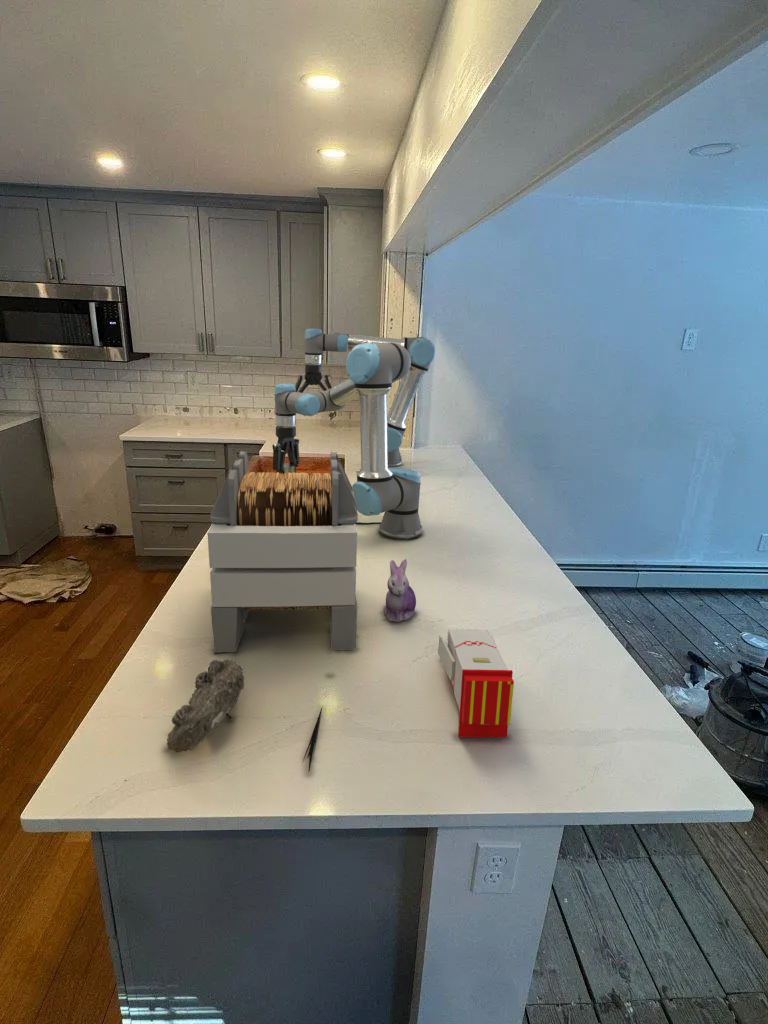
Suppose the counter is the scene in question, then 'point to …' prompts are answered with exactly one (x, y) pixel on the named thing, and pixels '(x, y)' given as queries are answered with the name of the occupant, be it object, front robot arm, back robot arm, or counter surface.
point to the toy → (478, 682)
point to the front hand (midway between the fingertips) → (286, 484)
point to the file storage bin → (283, 549)
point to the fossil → (206, 705)
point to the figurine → (399, 594)
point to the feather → (313, 740)
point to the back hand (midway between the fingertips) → (313, 410)
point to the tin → (288, 468)
